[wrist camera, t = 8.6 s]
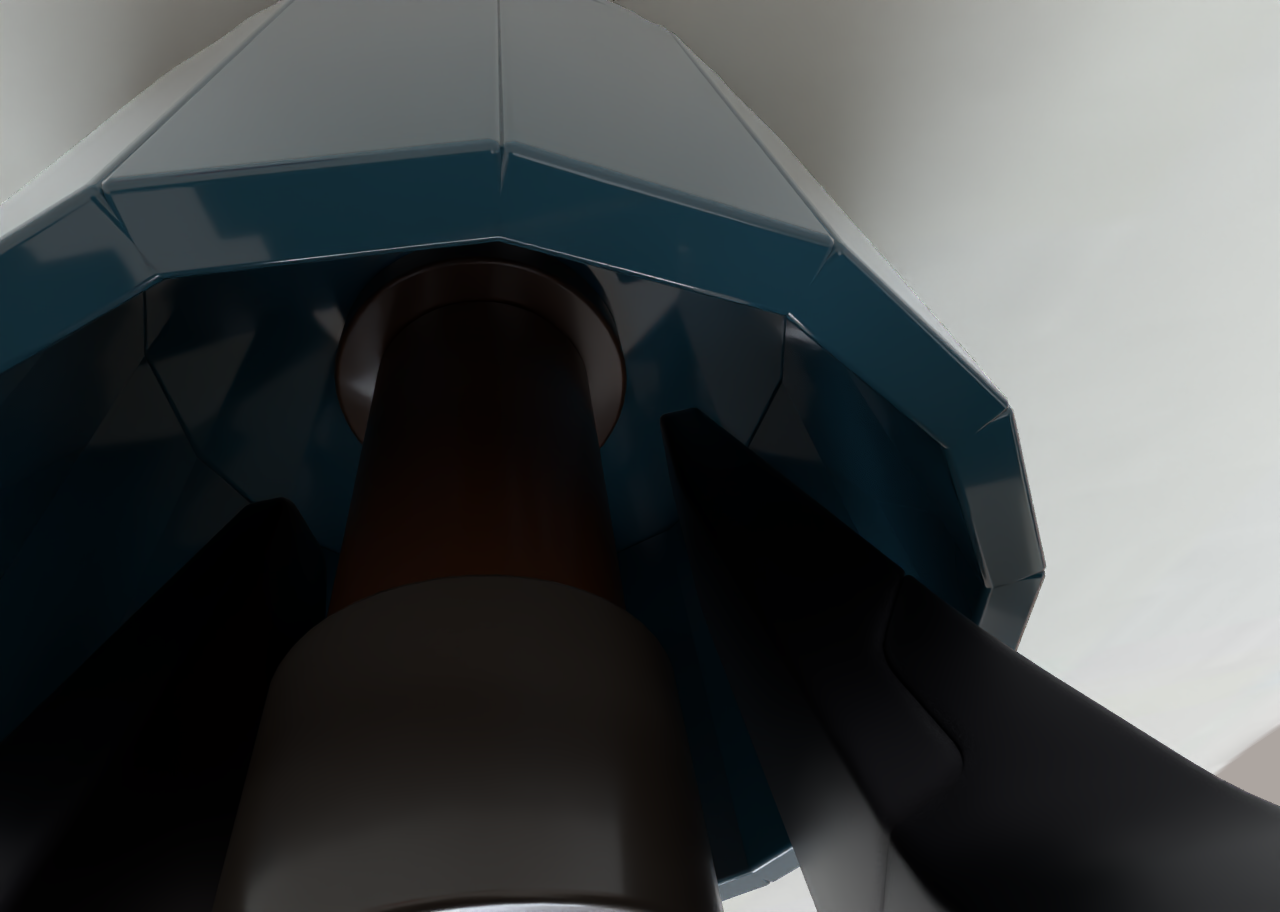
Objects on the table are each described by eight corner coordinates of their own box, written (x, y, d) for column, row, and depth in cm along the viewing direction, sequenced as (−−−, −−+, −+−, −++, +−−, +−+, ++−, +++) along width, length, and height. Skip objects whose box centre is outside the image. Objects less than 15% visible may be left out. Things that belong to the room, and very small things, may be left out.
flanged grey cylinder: (515, 508, 12) (535, 1127, 6) (287, 391, 10) (35, 1103, 5) (676, 343, 11) (884, 946, 5) (444, 174, 9) (360, 812, 3)
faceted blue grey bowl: (547, 637, 15) (571, 1005, 10) (1, 403, 11) (-384, 865, 6) (933, 289, 12) (1231, 613, 7) (358, -285, 7) (100, -467, 2)
